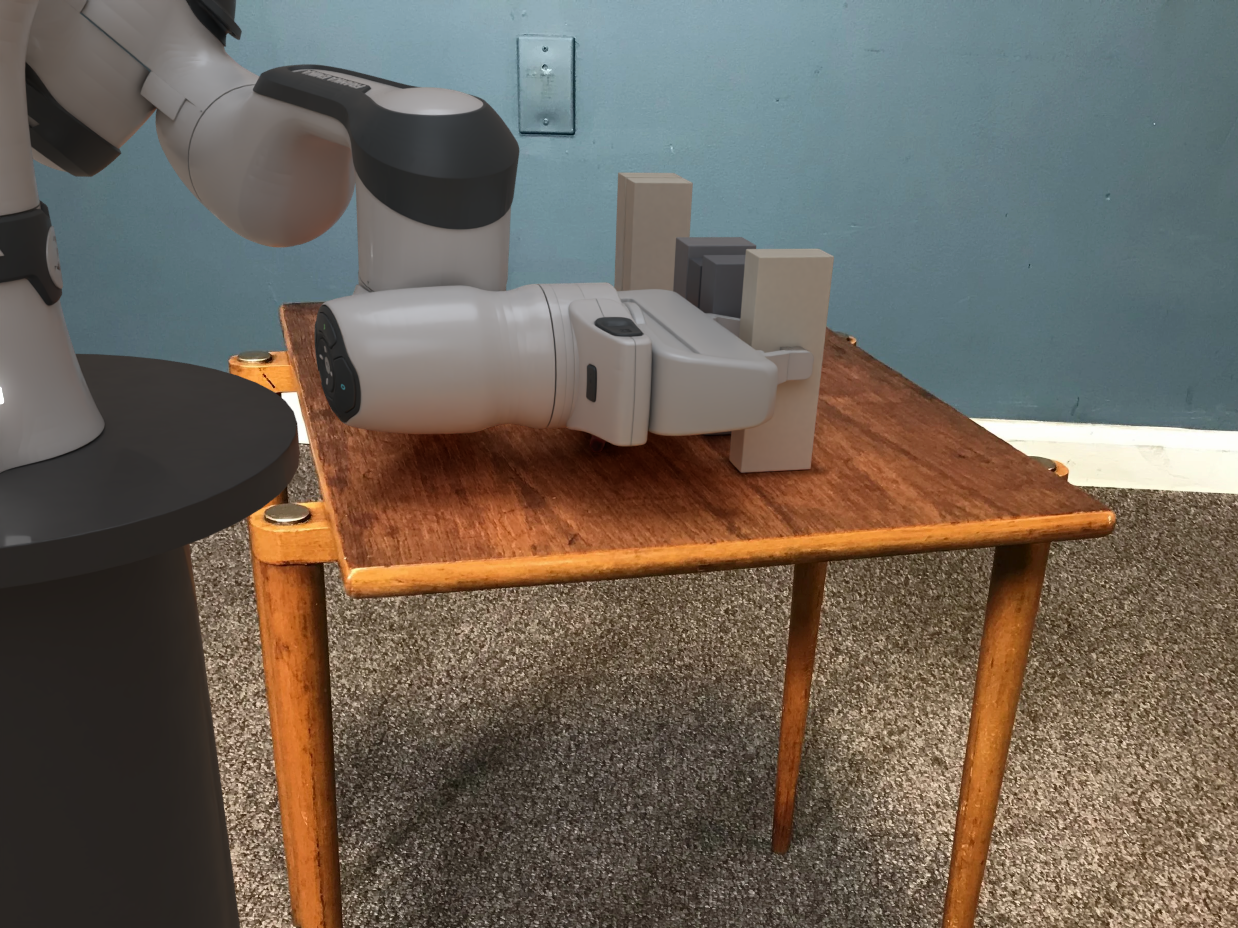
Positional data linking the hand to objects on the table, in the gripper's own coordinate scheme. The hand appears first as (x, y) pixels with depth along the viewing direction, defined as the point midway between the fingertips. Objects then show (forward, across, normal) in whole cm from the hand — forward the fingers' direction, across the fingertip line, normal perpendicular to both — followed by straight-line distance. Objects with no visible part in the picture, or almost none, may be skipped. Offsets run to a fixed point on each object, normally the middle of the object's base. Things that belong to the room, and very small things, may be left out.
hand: (787, 347), depth 84 cm
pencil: (-8, -12, -8) cm, 17 cm away
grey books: (-1, -10, -8) cm, 13 cm away
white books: (0, -27, -8) cm, 28 cm away
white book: (-1, +1, -8) cm, 8 cm away
